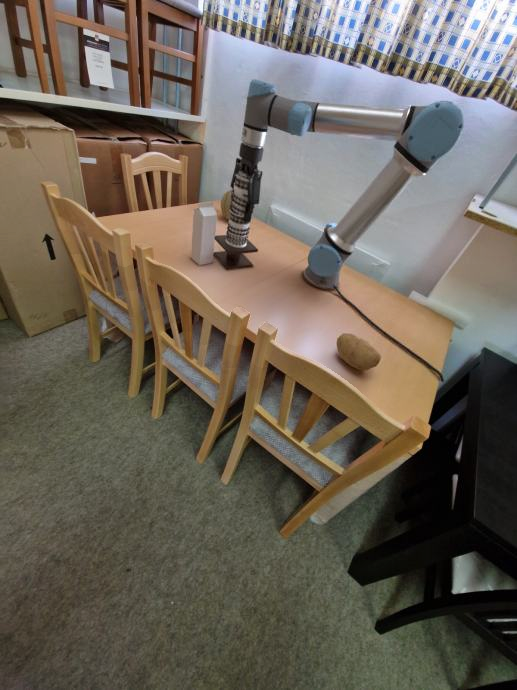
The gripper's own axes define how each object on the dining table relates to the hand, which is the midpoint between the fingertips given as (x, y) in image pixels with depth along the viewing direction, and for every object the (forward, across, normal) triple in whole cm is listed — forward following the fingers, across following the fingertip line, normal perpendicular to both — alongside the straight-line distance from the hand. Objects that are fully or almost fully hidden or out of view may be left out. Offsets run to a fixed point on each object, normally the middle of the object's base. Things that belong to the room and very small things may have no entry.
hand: (240, 215), depth 109 cm
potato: (+18, +63, +8) cm, 66 cm away
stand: (+18, 0, 0) cm, 18 cm away
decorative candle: (+11, 0, 0) cm, 11 cm away
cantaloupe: (+19, -37, +20) cm, 46 cm away
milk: (+19, -2, -13) cm, 23 cm away
